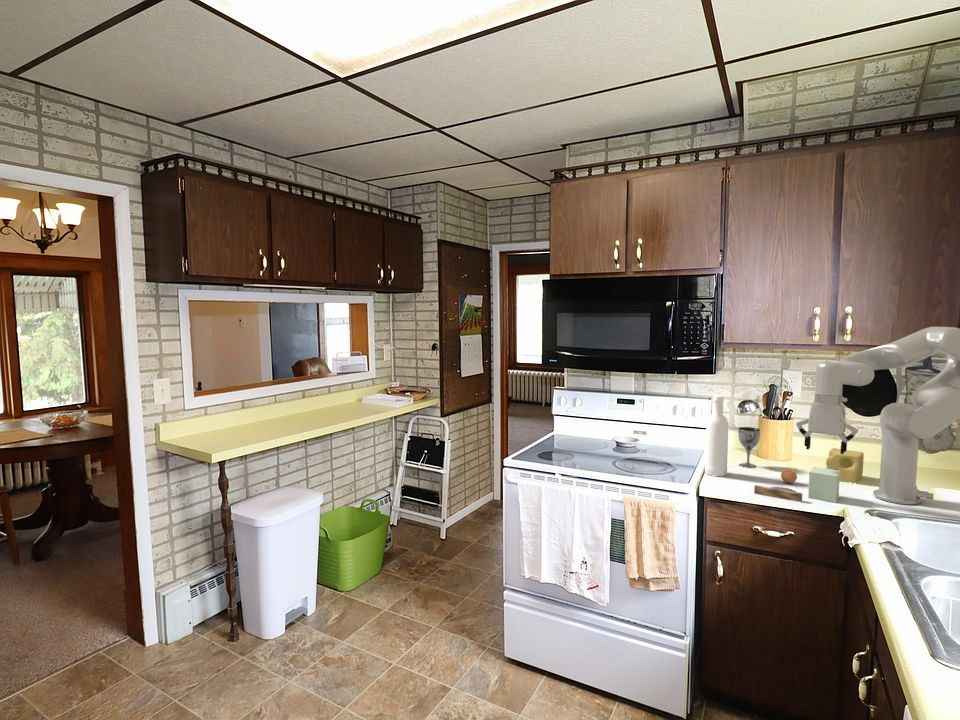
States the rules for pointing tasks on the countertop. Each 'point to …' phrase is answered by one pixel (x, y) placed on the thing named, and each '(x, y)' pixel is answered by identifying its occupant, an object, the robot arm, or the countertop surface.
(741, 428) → the wine glass
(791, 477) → the ball
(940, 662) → the countertop surface
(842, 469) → the cheese
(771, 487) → the spot
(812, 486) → the pale green cube
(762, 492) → the brown wooden bar
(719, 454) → the bottle
